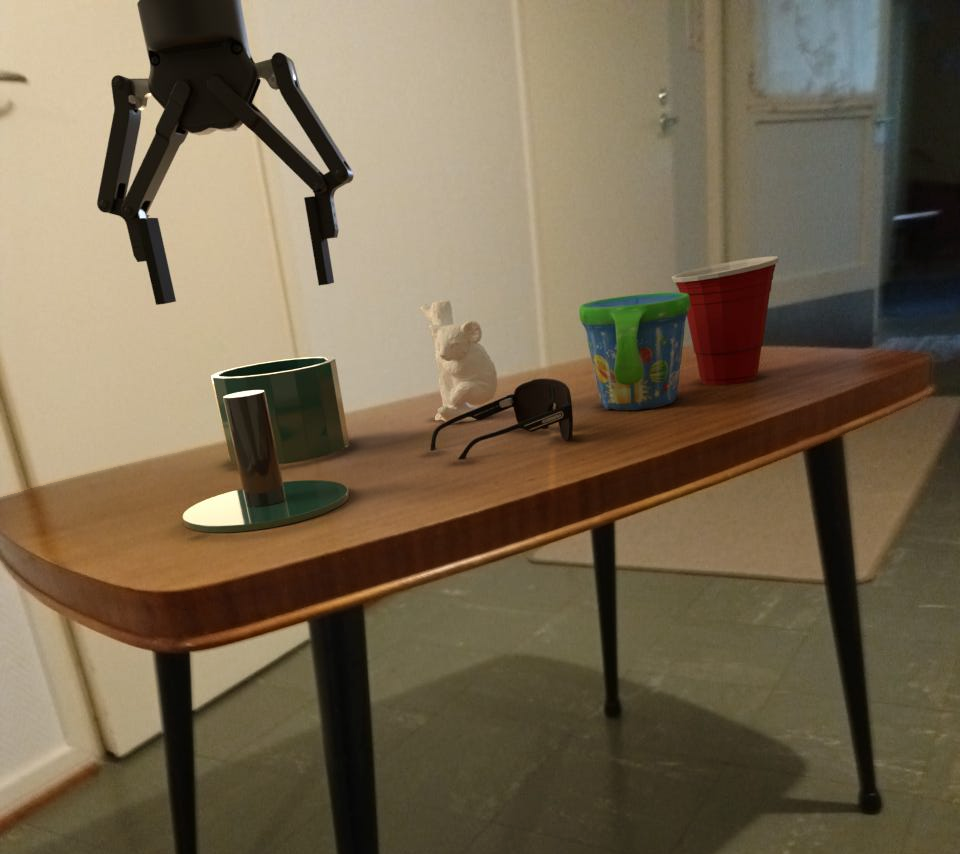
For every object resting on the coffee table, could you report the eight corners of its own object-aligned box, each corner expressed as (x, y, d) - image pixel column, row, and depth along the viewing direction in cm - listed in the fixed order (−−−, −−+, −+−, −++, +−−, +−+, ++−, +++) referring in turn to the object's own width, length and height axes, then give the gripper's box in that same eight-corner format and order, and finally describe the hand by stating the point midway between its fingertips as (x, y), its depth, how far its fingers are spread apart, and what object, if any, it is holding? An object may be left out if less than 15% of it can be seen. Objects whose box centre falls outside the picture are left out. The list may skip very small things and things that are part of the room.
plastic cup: (665, 381, 111) (660, 268, 106) (760, 368, 111) (759, 255, 106) (689, 395, 100) (685, 271, 96) (794, 381, 101) (794, 257, 96)
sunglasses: (595, 439, 85) (584, 382, 83) (475, 486, 81) (461, 427, 79) (534, 426, 94) (523, 374, 92) (424, 467, 90) (410, 414, 88)
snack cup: (678, 419, 90) (674, 302, 86) (567, 424, 94) (558, 313, 90) (704, 388, 103) (701, 286, 99) (606, 394, 107) (599, 296, 103)
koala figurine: (415, 423, 104) (398, 304, 99) (467, 411, 107) (453, 295, 103) (458, 430, 97) (442, 303, 93) (513, 417, 101) (500, 294, 96)
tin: (215, 476, 90) (194, 382, 87) (250, 450, 101) (233, 365, 98) (335, 464, 89) (319, 368, 86) (359, 439, 99) (345, 352, 96)
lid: (160, 547, 69) (127, 418, 66) (216, 501, 81) (191, 389, 77) (331, 531, 68) (307, 398, 64) (364, 487, 79) (344, 372, 76)
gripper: (361, -21, 75) (400, 273, 83) (50, 25, 77) (118, 307, 85) (343, -46, 68) (388, 278, 76) (2, 5, 70) (81, 314, 78)
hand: (245, 294), depth 81 cm, fingers open, 13 cm apart
